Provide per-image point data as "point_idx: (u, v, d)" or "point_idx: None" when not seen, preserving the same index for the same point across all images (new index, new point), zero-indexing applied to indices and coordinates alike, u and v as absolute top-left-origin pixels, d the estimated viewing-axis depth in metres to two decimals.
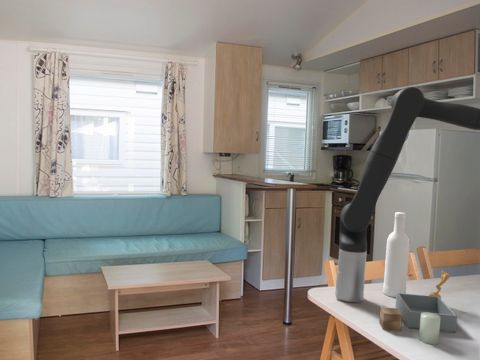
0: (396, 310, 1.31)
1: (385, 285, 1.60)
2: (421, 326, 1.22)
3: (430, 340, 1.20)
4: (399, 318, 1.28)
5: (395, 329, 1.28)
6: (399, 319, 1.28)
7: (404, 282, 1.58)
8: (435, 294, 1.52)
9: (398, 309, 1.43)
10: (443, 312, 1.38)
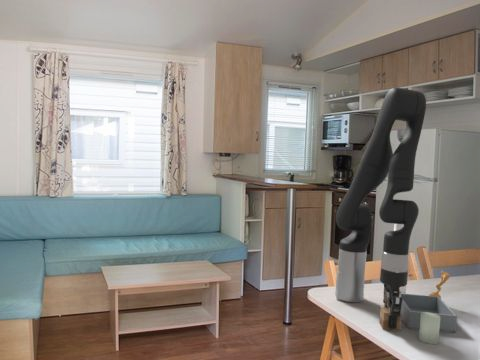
0: None
1: None
2: (421, 326, 1.22)
3: (430, 340, 1.20)
4: (399, 318, 1.28)
5: (395, 329, 1.28)
6: (399, 319, 1.28)
7: None
8: (435, 294, 1.52)
9: None
10: (443, 312, 1.38)
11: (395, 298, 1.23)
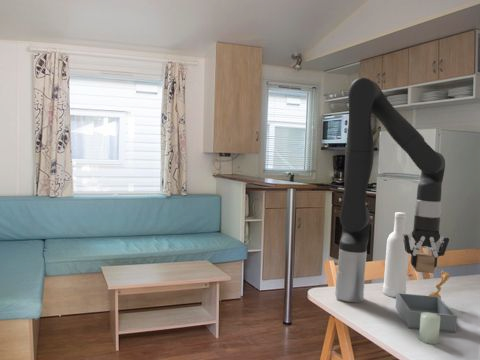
0: (428, 256, 1.39)
1: (385, 285, 1.60)
2: (421, 326, 1.22)
3: (430, 340, 1.20)
4: (417, 259, 1.39)
5: (415, 269, 1.40)
6: (417, 260, 1.39)
7: (404, 282, 1.58)
8: (435, 294, 1.52)
9: (398, 309, 1.43)
10: (443, 312, 1.38)
11: (403, 234, 1.42)
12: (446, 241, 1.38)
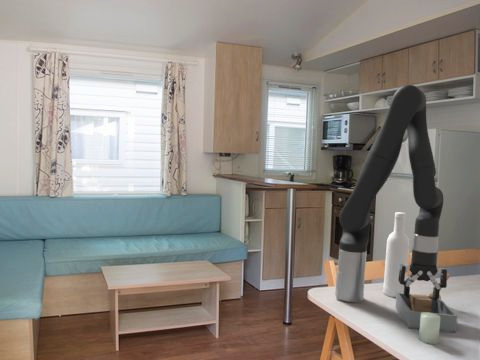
0: (425, 299, 1.40)
1: (385, 285, 1.60)
2: (421, 326, 1.22)
3: (430, 340, 1.20)
4: (414, 302, 1.40)
5: None
6: (414, 303, 1.40)
7: None
8: None
9: (398, 309, 1.43)
10: (443, 312, 1.38)
11: (401, 265, 1.43)
12: (444, 273, 1.40)
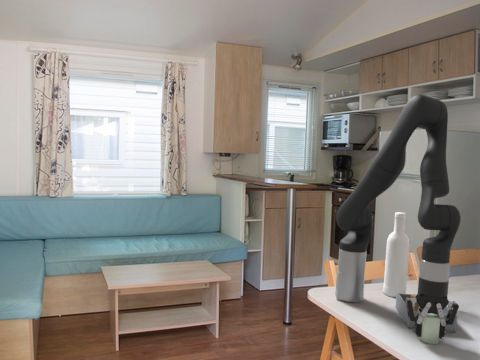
0: None
1: (385, 285, 1.60)
2: None
3: (430, 340, 1.20)
4: None
5: None
6: None
7: (404, 282, 1.58)
8: None
9: (398, 309, 1.43)
10: (443, 312, 1.38)
11: (406, 298, 1.23)
12: (455, 308, 1.20)
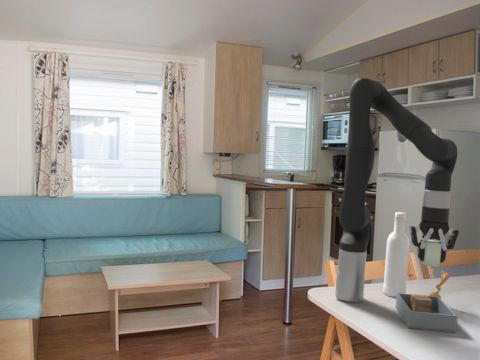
0: (425, 299, 1.40)
1: (385, 285, 1.60)
2: None
3: (432, 263, 1.31)
4: (414, 302, 1.40)
5: None
6: (414, 303, 1.40)
7: (404, 282, 1.58)
8: (435, 294, 1.52)
9: (398, 309, 1.43)
10: (443, 312, 1.38)
11: (410, 226, 1.34)
12: (456, 233, 1.31)
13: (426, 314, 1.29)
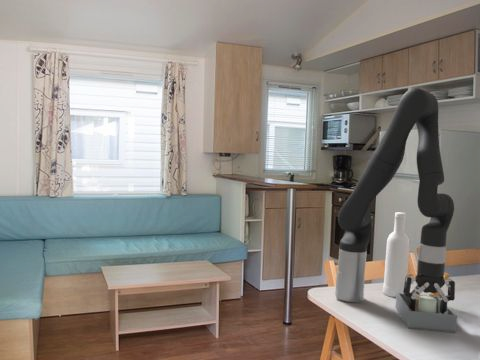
0: None
1: (385, 285, 1.60)
2: (419, 308, 1.34)
3: None
4: None
5: None
6: None
7: (404, 282, 1.58)
8: (435, 294, 1.52)
9: (398, 309, 1.43)
10: None
11: (406, 276, 1.36)
12: (452, 284, 1.32)
13: (426, 314, 1.29)
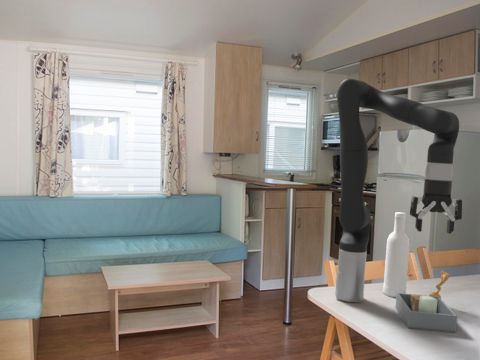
0: None
1: (385, 285, 1.60)
2: (420, 308, 1.34)
3: None
4: (414, 302, 1.40)
5: None
6: (414, 303, 1.40)
7: (404, 282, 1.58)
8: (435, 294, 1.52)
9: (398, 309, 1.43)
10: (443, 312, 1.38)
11: (413, 196, 1.34)
12: (459, 203, 1.30)
13: (426, 314, 1.29)
